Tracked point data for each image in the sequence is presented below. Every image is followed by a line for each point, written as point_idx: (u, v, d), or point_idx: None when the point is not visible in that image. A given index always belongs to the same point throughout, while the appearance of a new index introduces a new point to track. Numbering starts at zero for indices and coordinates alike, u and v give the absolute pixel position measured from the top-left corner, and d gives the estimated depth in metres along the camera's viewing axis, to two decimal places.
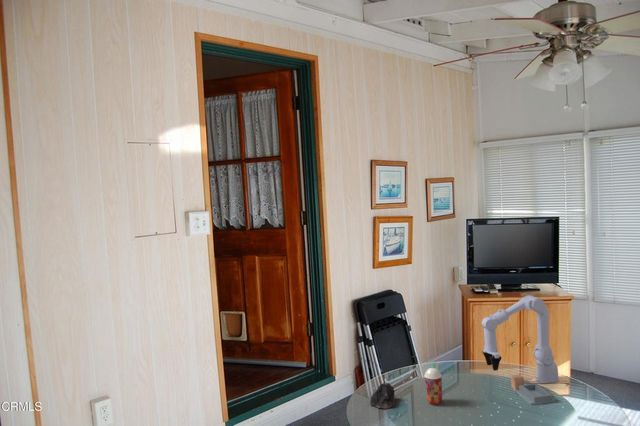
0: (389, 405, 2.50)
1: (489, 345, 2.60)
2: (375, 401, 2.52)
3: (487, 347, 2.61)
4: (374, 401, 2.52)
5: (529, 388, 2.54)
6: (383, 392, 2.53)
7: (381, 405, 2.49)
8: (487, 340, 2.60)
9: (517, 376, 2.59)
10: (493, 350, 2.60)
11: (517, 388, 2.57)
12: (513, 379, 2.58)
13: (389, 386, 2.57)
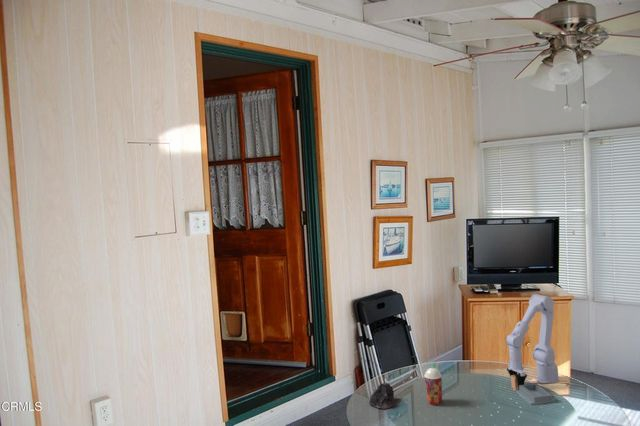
0: (388, 405, 2.50)
1: (514, 362, 2.56)
2: (374, 401, 2.52)
3: (512, 364, 2.57)
4: (373, 401, 2.52)
5: (529, 388, 2.54)
6: (382, 392, 2.53)
7: (381, 405, 2.49)
8: (514, 358, 2.56)
9: None
10: (518, 368, 2.56)
11: (517, 388, 2.57)
12: (513, 379, 2.58)
13: (388, 386, 2.57)
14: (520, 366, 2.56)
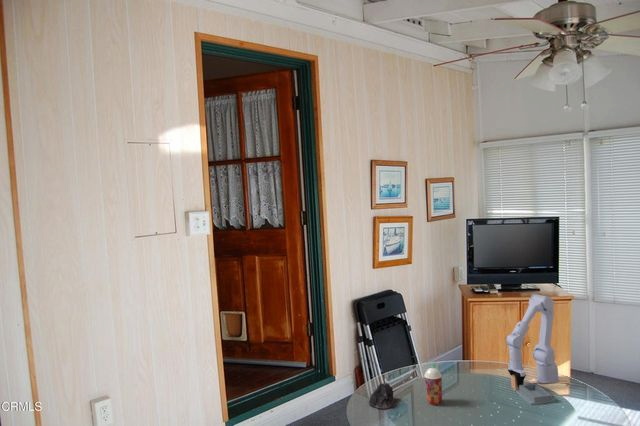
0: (388, 405, 2.50)
1: (514, 363, 2.56)
2: (374, 401, 2.52)
3: (512, 365, 2.57)
4: (373, 401, 2.52)
5: (529, 388, 2.54)
6: (382, 392, 2.53)
7: (380, 405, 2.49)
8: (514, 358, 2.56)
9: None
10: (518, 368, 2.56)
11: (517, 388, 2.57)
12: (513, 379, 2.58)
13: (387, 386, 2.57)
14: (520, 366, 2.56)
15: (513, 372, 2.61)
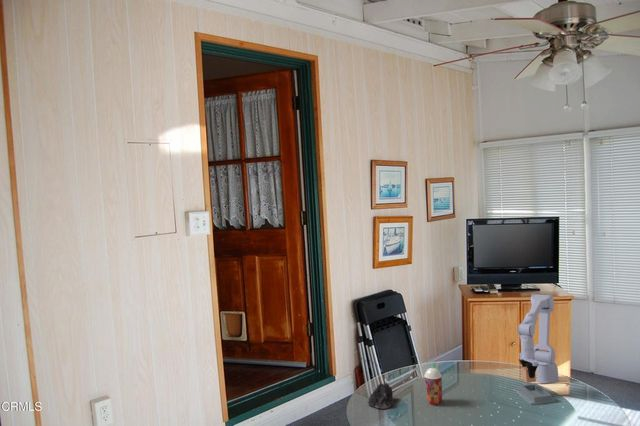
0: (388, 405, 2.50)
1: (526, 352, 2.47)
2: (374, 401, 2.52)
3: (524, 354, 2.48)
4: (373, 401, 2.52)
5: (529, 388, 2.54)
6: (382, 392, 2.53)
7: (380, 405, 2.49)
8: (529, 347, 2.47)
9: None
10: (530, 357, 2.47)
11: (528, 380, 2.48)
12: (524, 371, 2.49)
13: (387, 386, 2.57)
14: (532, 356, 2.47)
15: (525, 362, 2.52)
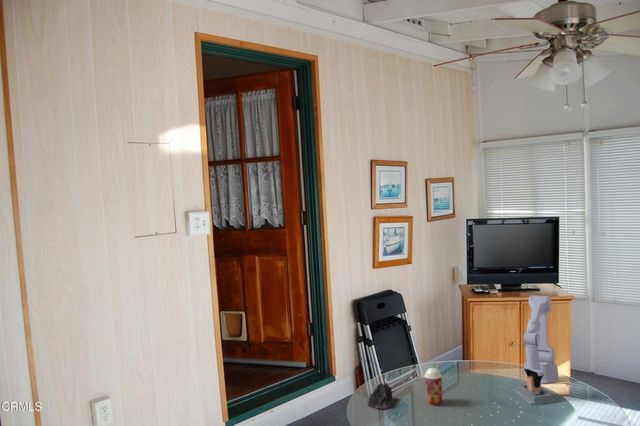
0: (387, 405, 2.50)
1: (531, 362, 2.44)
2: (373, 401, 2.52)
3: (529, 364, 2.45)
4: (372, 401, 2.52)
5: None
6: (381, 392, 2.53)
7: (380, 405, 2.49)
8: (535, 356, 2.44)
9: None
10: (536, 367, 2.44)
11: (534, 390, 2.45)
12: (529, 381, 2.46)
13: (386, 386, 2.57)
14: (537, 365, 2.44)
15: (530, 371, 2.49)
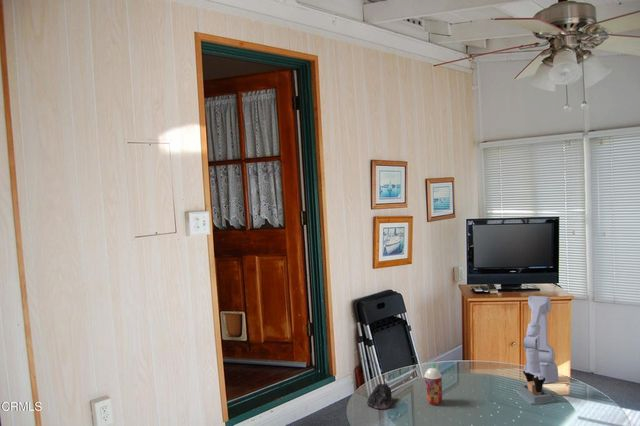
0: (387, 405, 2.50)
1: (532, 365, 2.44)
2: (373, 402, 2.52)
3: (529, 367, 2.45)
4: (372, 402, 2.52)
5: None
6: (381, 392, 2.53)
7: (379, 405, 2.49)
8: (535, 360, 2.44)
9: None
10: (536, 371, 2.44)
11: None
12: (530, 386, 2.47)
13: (386, 387, 2.57)
14: (538, 369, 2.44)
15: (529, 374, 2.51)
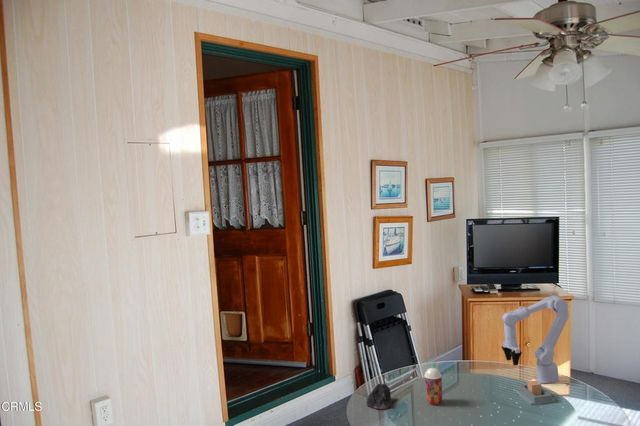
0: (386, 405, 2.50)
1: (509, 340, 2.63)
2: (372, 402, 2.52)
3: (507, 342, 2.64)
4: (371, 402, 2.52)
5: None
6: (380, 392, 2.52)
7: (379, 406, 2.49)
8: (506, 335, 2.64)
9: (534, 383, 2.47)
10: (513, 345, 2.63)
11: None
12: (530, 386, 2.47)
13: (385, 387, 2.57)
14: (515, 344, 2.63)
15: (507, 349, 2.70)
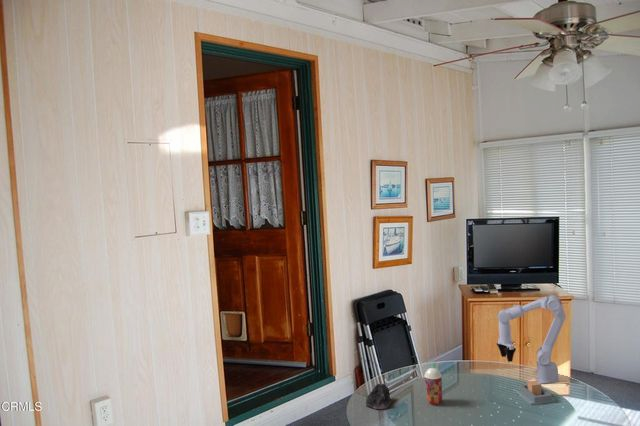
0: (386, 405, 2.50)
1: (504, 337, 2.69)
2: (372, 402, 2.51)
3: (502, 339, 2.70)
4: (370, 402, 2.52)
5: None
6: (379, 393, 2.52)
7: (378, 406, 2.49)
8: (500, 332, 2.70)
9: (534, 383, 2.47)
10: (508, 342, 2.69)
11: None
12: (530, 386, 2.47)
13: (384, 387, 2.57)
14: (509, 340, 2.69)
15: (501, 346, 2.75)
